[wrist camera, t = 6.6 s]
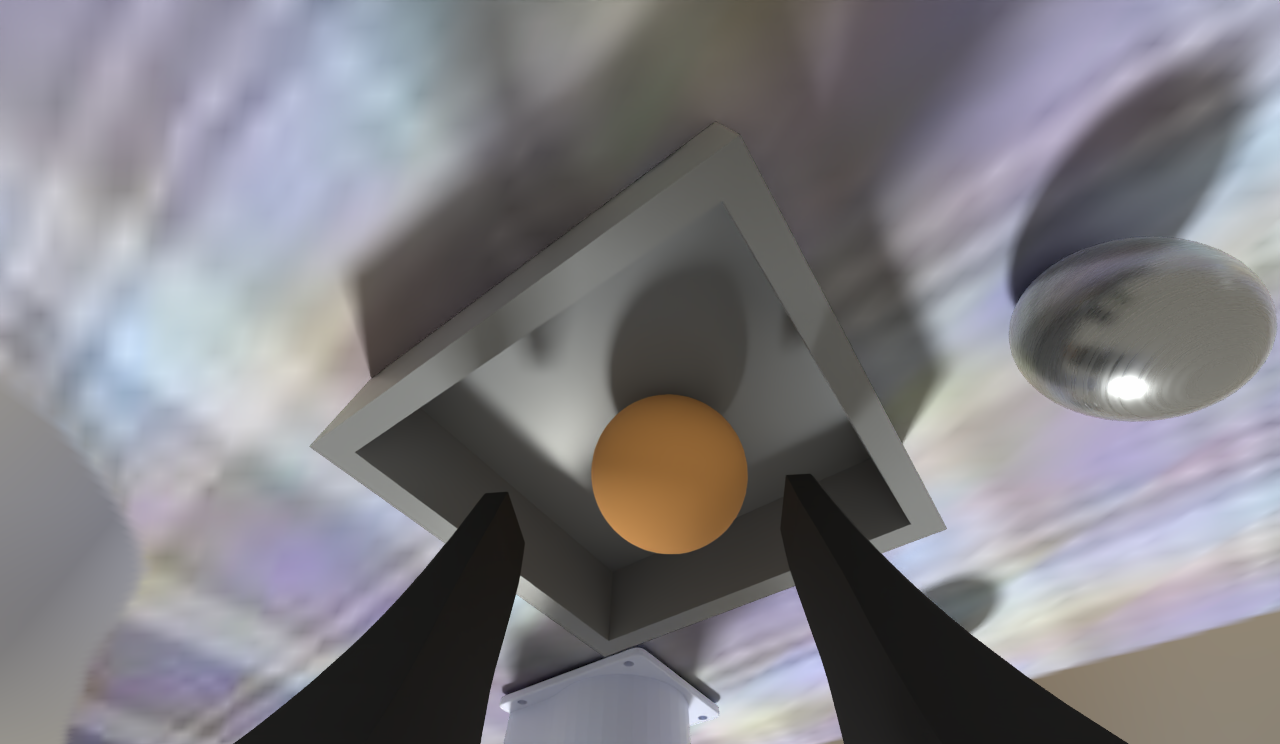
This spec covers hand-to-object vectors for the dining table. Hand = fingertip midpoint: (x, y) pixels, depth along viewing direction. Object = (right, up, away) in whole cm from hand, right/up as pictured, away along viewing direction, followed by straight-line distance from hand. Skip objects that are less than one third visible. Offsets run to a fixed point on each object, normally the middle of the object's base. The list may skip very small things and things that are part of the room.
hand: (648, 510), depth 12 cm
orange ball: (+1, +1, +1) cm, 1 cm away
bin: (0, +2, +3) cm, 4 cm away
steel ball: (+12, +5, -1) cm, 12 cm away
